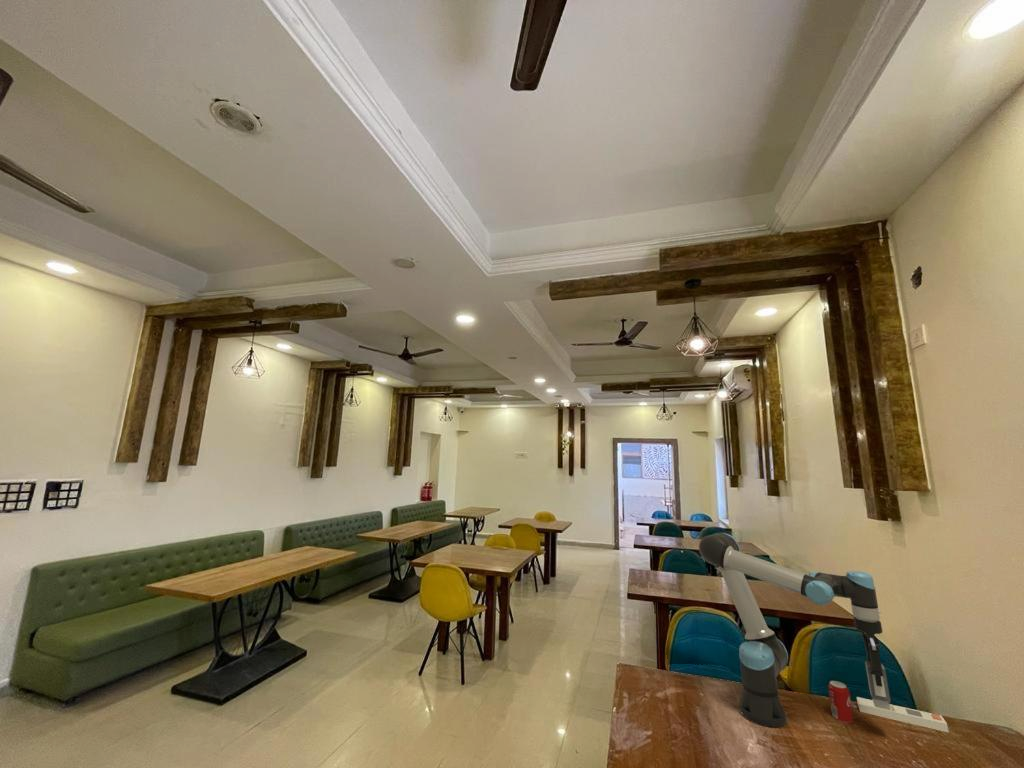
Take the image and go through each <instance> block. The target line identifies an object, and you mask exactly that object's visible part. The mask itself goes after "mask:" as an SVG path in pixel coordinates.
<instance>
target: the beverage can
mask: <svg viewBox="0 0 1024 768" xmlns="http://www.w3.org/2000/svg"><path fill="white" fill-rule="evenodd" d="M827 689H828V695H829V696H828V697H829V703H830V710H831V715H832V717H833V718H834V719H835V720H837V721H840V722H842V723H848V724H849V723H854V715H853V714H854V713H853V707H852V706H851V705H852V701H851V694H850V690H849V688H848V687H847V685H846V684H845V683H843V682H841V681H839V680H838V681H837V680H830V681H829V684H828V685H827Z"/></svg>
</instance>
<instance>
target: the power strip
mask: <svg viewBox="0 0 1024 768" xmlns="http://www.w3.org/2000/svg"><path fill="white" fill-rule="evenodd" d="M856 702H857V705H854V704H851V706H852V708H854V709H855V708H856V709H859V712H861V713H864V714H869V715H872V716H873V715H874V716H877V717H882V718H884V719H885V718H886V719H889V720H890V719H891V720H895V721H898V722H902V723H907V724H911V725H916V726H919V727H924V728H929V729H932V730H937V731H940V732H941V731H942V732H945V733H949V732H950V731H949V727H948V723H947V721H946V720H945V719H944V717H943V715H940V714H936V713H930V712H927V711H922V710H918V709H912V708H909V707H905V706H900V705H894V704H892V703H889V705H890V710H887V709H882V708H878V707H875V705H874V703H873V699H867V698H864V697H860V696H856Z"/></svg>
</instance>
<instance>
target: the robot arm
mask: <svg viewBox="0 0 1024 768" xmlns="http://www.w3.org/2000/svg"><path fill="white" fill-rule="evenodd" d="M698 551H699V554H700V556H701V557H702V559H703V560H704V561H705V562H707V563H709V564H711V565H713V567H714V569H716V570H718V571H719V572H720V574H721V576H722V578H723V580H724V582H725V585H726V588H727V590H728V592H729V594H730V597H731V599H732V602H733V603H734V606H735V609H736V611H737V613H738V615H739V617H740V620H741V623H742V625H743V628H744V630H745V632H746V633H745V635H744V639H745V641H744V642H742V643H741V644H740V645H739V646H738V647H739V649H738V651H739V652H738V658H739V662H740V663H739V664H740V672H741V682H742V691H741V696H740V699H739V711H740V710H741V712H742V713H743V715H744V716H746V717H747V718H748V719H749V721H750V720H751V721H750V722H752V721H753V722H752V723H754V722H755V724H757V723H758V724H757V725H760V726H763V725H765V726H764V727H768V726H772V727H771V728H780V727H784V726H786V724H787V721H788V720H787V713H786V711H785V709H784V706H783V704H782V702H781V699H780V697H779V690H778V681H777V677H778V676H779V675H780V673H781V672H782V671H784V669H785V668H786V667H787V664H788V662H789V653H788V651H787V648H786V647H785V644H784V643H783V642H782V641H781V640H780V639H778V638H777V636H776V633H775V631H773V630H772V629H771V628H769V627H768V624H767V622H766V620H765V618H764V616H763V614H762V612H761V610H760V606H759V604H758V603H757V601H756V598H755V596H754V593H753V592H752V589H751V587H750V585H749V583H748V580H747V578H746V576H749V577H752V578H755V579H758V580H760V581H763V582H766V583H767V584H768V583H769V584H772V585H775V586H777V587H780V588H782V589H785V590H787V591H790V592H793V593H796V594H798V595H801V596H804V597H806V598H808V599H809V600H810V602H812V603H814V604H816V605H819V606H825V605H827V604H829V603H831V602H833V600H834V599H835V598H836V597H839V598H843V599H850V604H851V611H852V615H853V623H854V627H855V629H856V630H858V631H860V632H862V634H861V637H862V640H863V643H864V647H865V653H866V661H868V662H871V667H872V672H870V674H872V677H873V683H874V689H875V695H877V696H882V697H886V694H885V688H884V682H883V672H882V667H881V664H882V661H881V655H880V648H879V647H880V646H879V638H878V637H877V636H876V634H877V635H880V634H882V633H883V627H882V622H881V621H880V620H881V616H880V614H882V611H881V610H880V609H879V604H878V598H877V591H876V586H875V583H874V578H873V576H872V575H871V574H870V573H868V572H866V571H860V570H859V571H858V570H848V571H846V575H839V574H832V573H824V572H821V571H820V572H819V571H818V572H817V571H816V572H815V571H810V572H809V573H808V574H805V573H803V572H799V571H797V570H794V569H791V568H790V567H789V568H788V567H785V566H782V565H780V564H776V563H774V562H770V561H768V560H765V559H762V558H759V557H757V556H753V555H750V554H747V553H744V552H741V551H740V544H739V543H738V540H736V539H735V537H733V536H732V535H731V534H728V533H726V532H715V533H713V534H709V535H705V536H704V537H702V538H701V539H700V541H699V543H698ZM741 712H740V713H741ZM743 715H742V716H743ZM744 716H743V717H744ZM746 717H745V718H746ZM747 718H746V719H747ZM748 719H747V720H748Z"/></svg>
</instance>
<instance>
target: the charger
mask: <svg viewBox="0 0 1024 768" xmlns="http://www.w3.org/2000/svg"><path fill="white" fill-rule="evenodd" d="M864 665H865V670H866V671H865V672H866V677H867V681H868V688H869V693H870V696H871V700H873V703H874V705H875V707H878V708H882V709H887V710H890V705H889V704H890V703H891V702H892V701H891V696H890V695H891V694H890V690H889V684H888V678H887V672H886V669H885V666H884V665H883V664H882V663H881V667H882V672H883V682H884V688H885V694H886V697H882V696H877V695H875V689H874V683H873V677H872V674H870V672H872V667H871V662H868V661H867V660H864Z"/></svg>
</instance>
